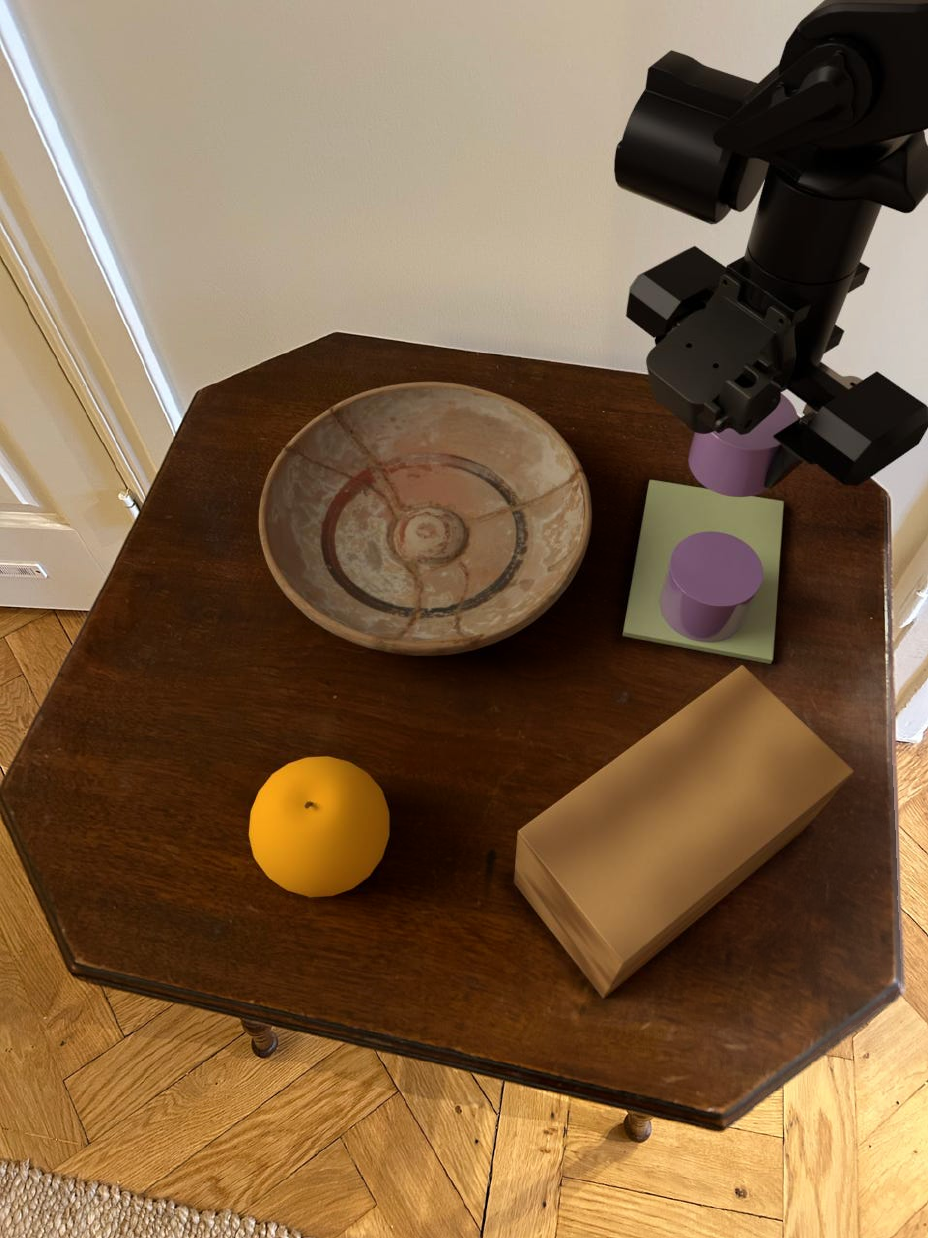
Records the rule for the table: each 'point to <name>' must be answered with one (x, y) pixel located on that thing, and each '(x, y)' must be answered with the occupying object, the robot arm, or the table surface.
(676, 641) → the placemat
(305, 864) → the orange
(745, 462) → the lavender cylinder puck
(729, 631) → the purple round puck
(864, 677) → the table surface
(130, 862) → the table surface
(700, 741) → the block
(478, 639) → the ceramic bowl
